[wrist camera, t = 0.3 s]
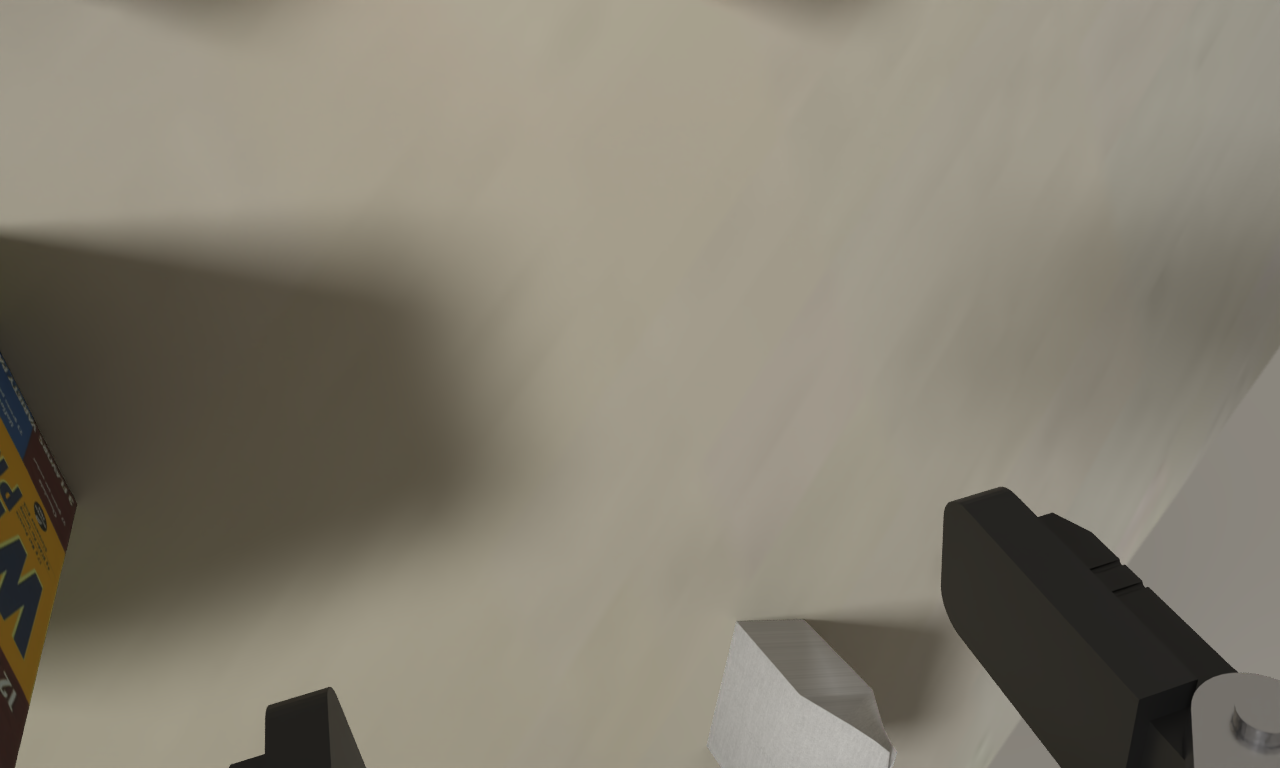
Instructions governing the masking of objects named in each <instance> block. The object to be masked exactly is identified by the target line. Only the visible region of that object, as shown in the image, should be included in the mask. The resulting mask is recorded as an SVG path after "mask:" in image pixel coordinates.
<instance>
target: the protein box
mask: <svg viewBox="0 0 1280 768" xmlns="http://www.w3.org/2000/svg"><path fill="white" fill-rule="evenodd" d="M76 507H77V503H76V501H75V499H74V497H73V496H72V494H71V492H70V490H69V489H68V487H67V485H66V483H65V480H64V478H63V477H62V475H61V473H60V471H59V469H58V467H57V465H56V463H55V461H54V459H53V457H52V455H51V453H50V451H49V449H48V447H47V445H46V443H45V441H44V439H43V437H42V435H41V433H40V431H39V429H38V427H37V425H36V423H35V421H34V419H33V416H32V414H31V412H30V410H29V408H28V406H27V404H26V402H25V400H24V398H23V396H22V394H21V392H20V390H19V388H18V386H17V384H16V382H15V380H14V378H13V376H12V374H11V372H10V370H9V368H8V366H7V364H6V362H5V360H4V358H3V356H2V354H1V352H0V768H15V765H16V760H17V755H18V751H19V748H20V744H21V739H22V735H23V731H24V726H25V722H26V718H27V714H28V710H29V706H30V702H31V697H32V693H33V688H34V684H35V680H36V676H37V671H38V667H39V663H40V658H41V654H42V649H43V645H44V642H45V638H46V634H47V630H48V626H49V621H50V617H51V613H52V609H53V604H54V600H55V596H56V592H57V587H58V583H59V579H60V575H61V570H62V567H63V563H64V558H65V554H66V550H67V546H68V542H69V537H70V533H71V528H72V524H73V520H74V515H75V511H76Z"/></svg>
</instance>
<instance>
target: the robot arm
mask: <svg viewBox="0 0 1280 768" xmlns="http://www.w3.org/2000/svg"><path fill="white" fill-rule="evenodd" d="M941 592H942V598H943V602H944V606H945V609H946V612H947V614H948V617H949V619H950V621H951V623H952V625H953V627H954V628H955V630H956V632H957V633H958V635H959V636H960V637H961V638H962V640H963V641H964V642H965V644H966V645H967V646H968V648H969V649H970V650H971V651H972V653H973V654H974V655H975V657H976V658H977V659H978V660H979V662H980V663H981V664H982V666H983V667H984V668H985V670H986V671H987V672H988V673H989V675H990V676H991V677H992V679H993V680H994V681H995V683H996V684H997V685H998V686H999V688H1000V689H1001V690H1002V692H1003V693H1004V694H1005V696H1006V697H1007V698H1008V699H1009V701H1010V702H1011V703H1012V705H1013V706H1014V707H1015V708H1016V710H1017V711H1018V712H1019V714H1020V715H1021V716H1022V718H1023V719H1024V720H1025V721H1026V723H1027V724H1028V725H1029V726H1030V728H1031V729H1032V731H1033V732H1034V733H1035V734H1036V736H1037V737H1038V738H1039V740H1041V742H1042V743H1043V745H1044V746H1045V747H1046V749H1047V750H1048V751H1049V753H1050V754H1051V755H1052V756H1053V758H1054V759H1055V760H1056V762H1057V763H1058V764H1059V765H1060V767H1061V768H1280V680H1277V679H1274V678H1271V677H1267V676H1263V675H1259V674H1252V673H1238V672H1237V671H1236V670H1235V669H1233V668H1232V667H1231V666H1230V665H1229V664H1228V663H1227V662H1226V661H1225V660H1224V659H1223V658H1222V657H1221V656H1220V655H1219V654H1218V653H1217V652H1216V651H1215V650H1213V649H1212V648H1211V647H1210V646H1209V645H1208V644H1207V643H1206V642H1205V641H1204V640H1203V639H1202V638H1201V637H1200V636H1199V635H1198V634H1197V633H1196V632H1195V631H1193V629H1192V628H1191V627H1190V626H1189V625H1187V624H1186V623H1185V622H1184V621H1183V620H1182V619H1181V618H1180V617H1179V616H1178V615H1177V614H1176V613H1175V612H1174V611H1173V610H1172V609H1171V608H1170V607H1169V606H1168V605H1166V603H1165V602H1164V601H1163V600H1161V599H1160V598H1159V597H1158V596H1157V595H1156V594H1155V593H1154V592H1153V591H1152V590H1151V589H1150V588H1149V587H1146V588H1145V587H1144V586H1143V583H1142V580H1141V579H1140V578H1138V577H1137V576H1136V575H1135V574H1134V573H1133V572H1132V571H1131V570H1130V569H1129V568H1128V567H1127V566H1126V565H1121V563H1120V559H1119V558H1118V557H1117V556H1116V555H1115V554H1114V553H1113V552H1111V551H1110V550H1109V549H1108V548H1107V547H1106V546H1105V545H1104V544H1103V543H1102V542H1101V541H1100V540H1099V539H1098V538H1097V537H1096V536H1095V535H1094V534H1093V533H1092V532H1090V531H1088V530H1086V529H1084V528H1082V527H1080V526H1078V525H1076V524H1074V523H1072V522H1070V521H1068V520H1066V519H1064V518H1062V517H1060V516H1058V515H1056V514H1054V513H1050V514H1047V515H1043V516H1040V517H1037V516H1036V515H1035V514H1034V513H1033V512H1032V511H1031V510H1030V509H1029V508H1028V507H1027V506H1026V505H1025V504H1024V503H1023V502H1022V501H1021V500H1020V499H1019V498H1018V497H1017V496H1016V495H1015V494H1014V493H1013V492H1012V491H1011V490H1009V489H1007V488H1005V487H998V488H994V489H991V490H988V491H984V492H981V493H978V494H975V495H971V496H968V497H965V498H961V499H958V500H955V501H951V502H949V503H948V504H947V505H946V507H945V510H944V521H943V547H942V572H941ZM229 768H366V767H365V764H364V762H363V759H362V757H361V754H360V752H359V749H358V747H357V744H356V742H355V739H354V737H353V735H352V732H351V730H350V727H349V725H348V722H347V720H346V717H345V715H344V712H343V710H342V708H341V705H340V703H339V700H338V698H337V695H336V693H335V691H334V690H333V688H331V687H328V688H324V689H321V690H318V691H314V692H311V693H308V694H305V695H301V696H298V697H295V698H291V699H288V700H285V701H281V702H278V703H275V704H271V705H269V706H268V707H267V709H266V716H265V754H264V755H260V756H257V757H254V758H251V759H247V760H244V761H241V762H238V763H235V764H231V765H230V767H229Z"/></svg>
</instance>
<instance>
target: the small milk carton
mask: <svg viewBox="0 0 1280 768" xmlns="http://www.w3.org/2000/svg"><path fill="white" fill-rule="evenodd" d="M707 747H708V749H709V750H710V752H711V753H712V755H713V756H714V758H715V759H716V760H717V762H718V763H719V765H720V766H721V768H893V765H894V761H895V758H896V755H897V751H896V749H895V748H894V746H893V745H892V743H891V742H890V740H889V738H888V735H887V733H886V731H885V728H884V726H883V724H882V720H881V717H880V713H879V710H878V706H877V703H876V699H875V696H874V692H873V690H872V689H871V688H870V687H869V685H868V684H867V683H866V682H865V681H864V680H863V679H862V678H861V677H860V676H859V675H858V674H857V673H856V672H855V671H854V670H853V669H852V668H851V667H850V666H849V665H848V664H847V663H846V662H845V661H844V660H843V659H842V658H841V657H840V656H839V655H838V654H837V653H836V652H835V651H834V650H833V649H832V647H831V646H830V645H829V644H828V643H827V642H826V641H825V640H824V639H823V638H822V637H821V636H820V635H819V634H818V633H817V632H816V631H815V630H814V629H813V628H812V627H811V626H810V625H809V624H808V623H807V622H806V621H805V620H804V619H800V620H763V621H736V625H735V629H734V633H733V637H732V641H731V646H730V650H729V654H728V658H727V662H726V666H725V671H724V675H723V679H722V683H721V687H720V692H719V696H718V700H717V704H716V708H715V712H714V717H713V721H712V725H711V729H710V733H709V738H708V742H707Z"/></svg>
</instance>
